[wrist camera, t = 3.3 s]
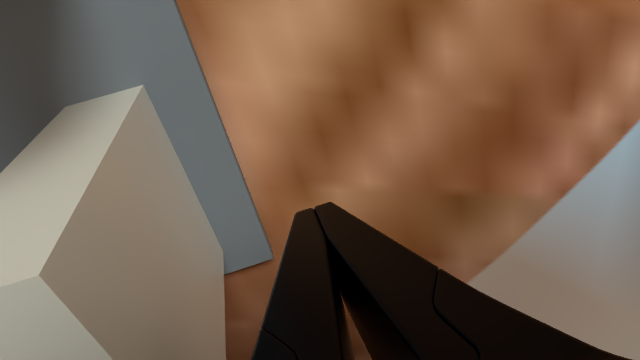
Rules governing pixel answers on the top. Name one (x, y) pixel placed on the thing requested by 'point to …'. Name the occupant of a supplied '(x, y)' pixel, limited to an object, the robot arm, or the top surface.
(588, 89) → the top surface
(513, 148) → the top surface
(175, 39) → the slate mat
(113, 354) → the tile
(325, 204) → the robot arm
